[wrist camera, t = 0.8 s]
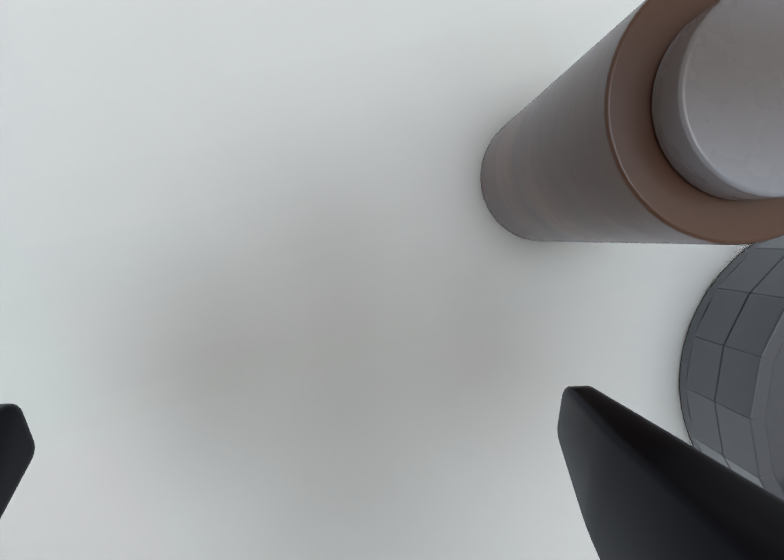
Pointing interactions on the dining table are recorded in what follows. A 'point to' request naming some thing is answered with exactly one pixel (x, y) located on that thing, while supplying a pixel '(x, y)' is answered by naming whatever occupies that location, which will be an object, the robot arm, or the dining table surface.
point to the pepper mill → (654, 134)
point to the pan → (740, 368)
